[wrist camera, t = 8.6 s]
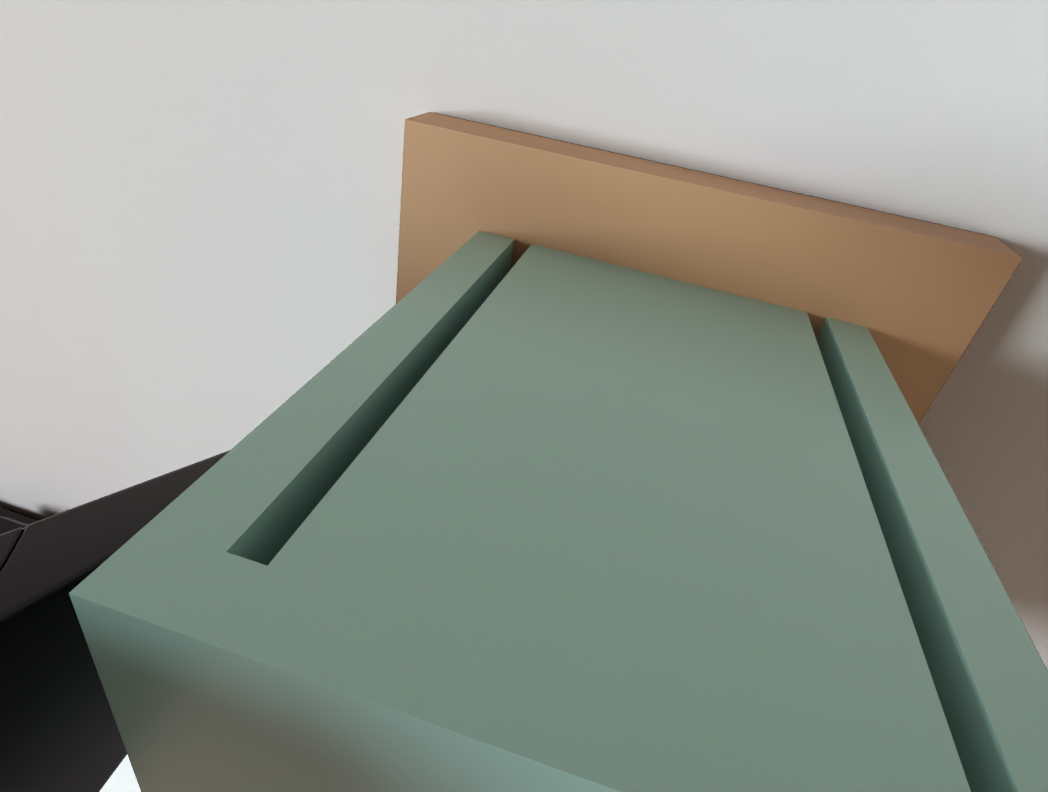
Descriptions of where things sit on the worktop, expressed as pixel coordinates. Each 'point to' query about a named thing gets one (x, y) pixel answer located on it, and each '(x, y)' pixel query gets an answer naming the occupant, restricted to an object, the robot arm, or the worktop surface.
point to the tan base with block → (704, 238)
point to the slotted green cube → (573, 564)
